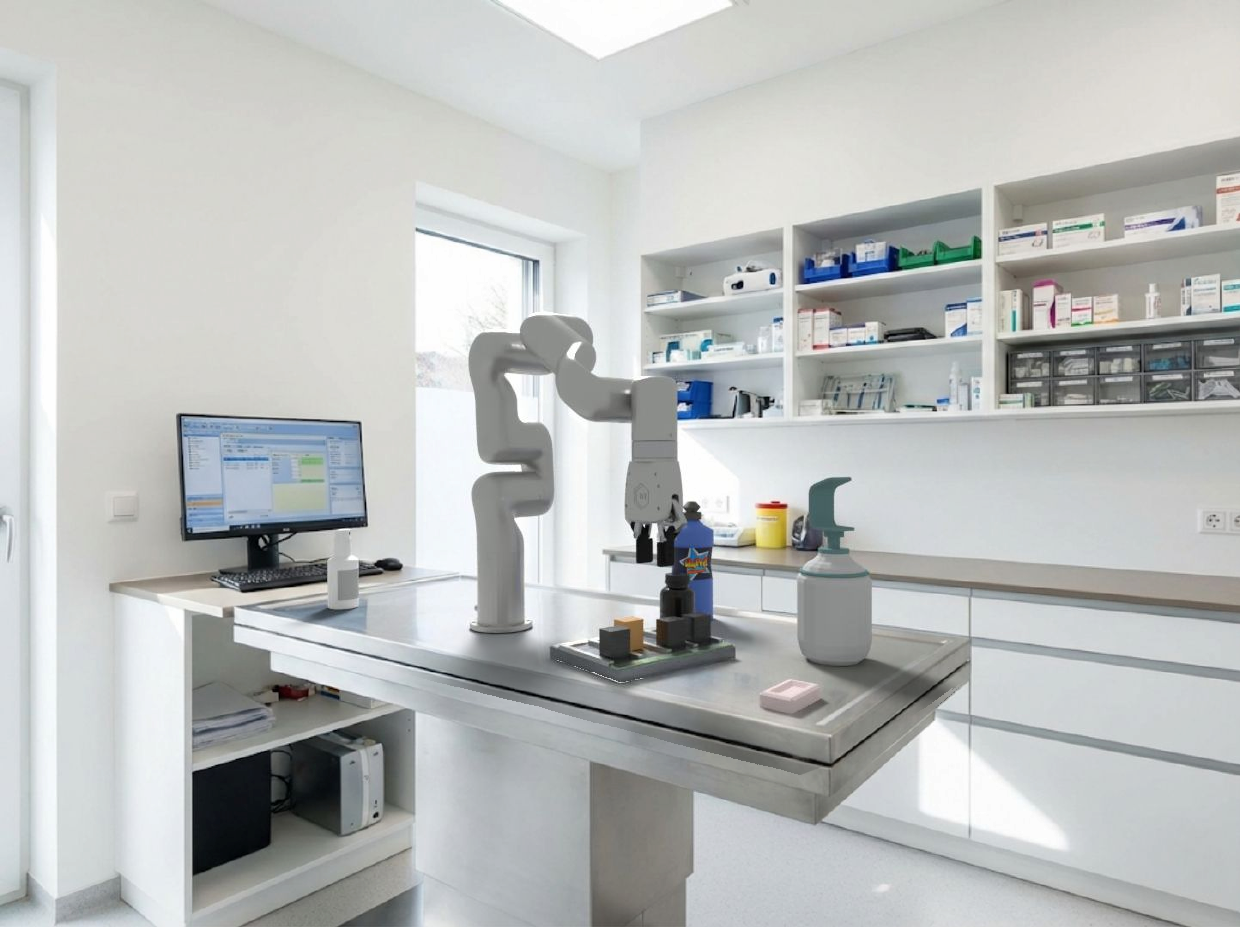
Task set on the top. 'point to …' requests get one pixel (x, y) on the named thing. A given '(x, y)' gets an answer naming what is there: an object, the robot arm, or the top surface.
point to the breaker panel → (648, 649)
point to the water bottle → (696, 557)
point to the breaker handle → (632, 630)
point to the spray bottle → (343, 573)
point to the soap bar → (790, 696)
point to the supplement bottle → (677, 596)
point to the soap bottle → (833, 591)
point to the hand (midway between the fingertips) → (654, 563)
